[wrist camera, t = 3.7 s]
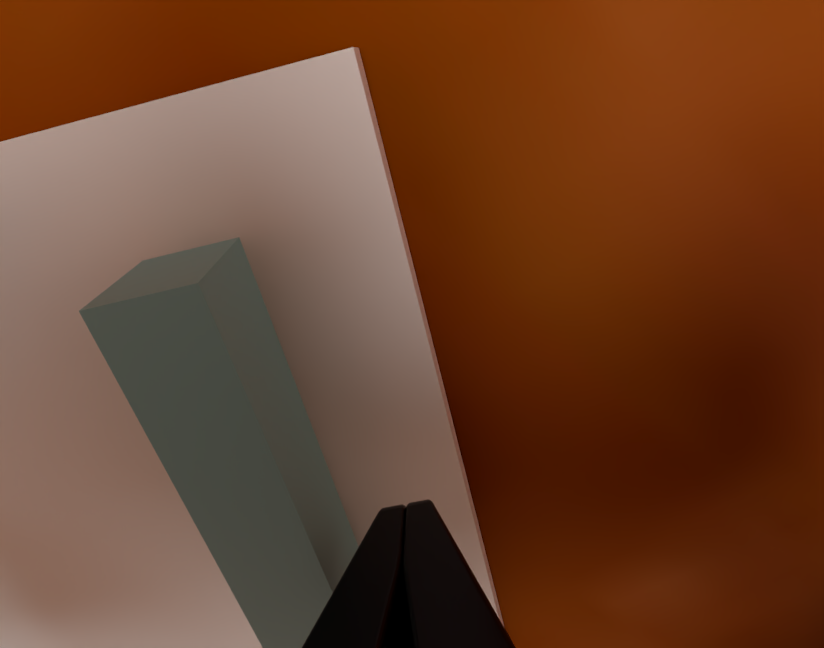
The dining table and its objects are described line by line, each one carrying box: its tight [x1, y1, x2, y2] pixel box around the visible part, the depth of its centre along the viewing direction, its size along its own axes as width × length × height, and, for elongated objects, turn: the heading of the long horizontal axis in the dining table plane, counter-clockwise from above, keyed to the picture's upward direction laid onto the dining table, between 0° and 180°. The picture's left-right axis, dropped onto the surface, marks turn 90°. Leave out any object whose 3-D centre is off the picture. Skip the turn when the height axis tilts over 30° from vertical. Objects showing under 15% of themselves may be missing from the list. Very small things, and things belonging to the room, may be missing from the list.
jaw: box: [79, 237, 358, 648], centre depth 9 cm, size 2×10×2 cm, turn 13°
